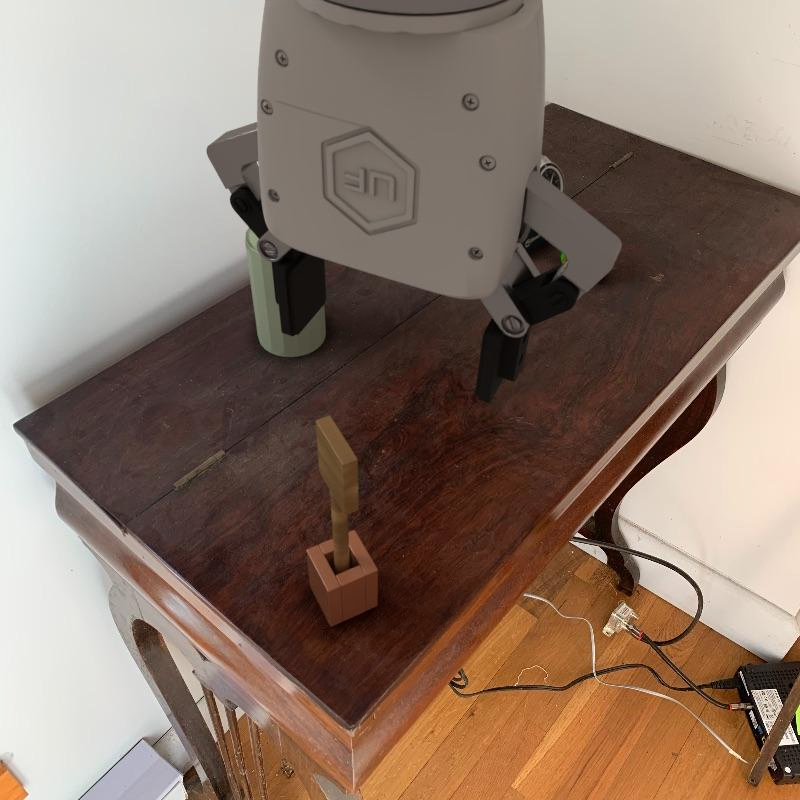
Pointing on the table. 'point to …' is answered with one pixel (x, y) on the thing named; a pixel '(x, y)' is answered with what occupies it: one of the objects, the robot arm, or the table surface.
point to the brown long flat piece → (338, 485)
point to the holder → (343, 580)
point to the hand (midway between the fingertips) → (396, 348)
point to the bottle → (277, 310)
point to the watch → (557, 179)
